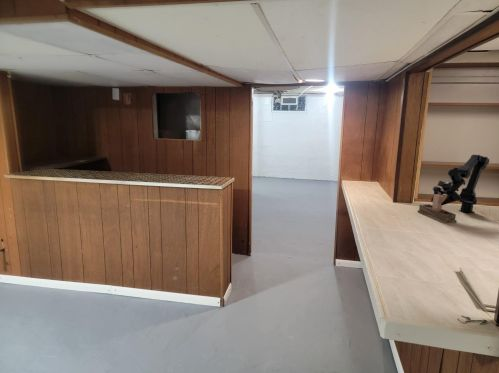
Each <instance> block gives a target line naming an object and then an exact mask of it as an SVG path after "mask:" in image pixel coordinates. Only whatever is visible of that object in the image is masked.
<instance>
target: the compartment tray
mask: <svg viewBox="0 0 499 373" xmlns="http://www.w3.org/2000/svg"><path fill="white" fill-rule="evenodd" d="M432 205H433V204H430V203H428V204H427V203H426V204H424V203H423V204H419V208H418V210H417V213H419V214H421V215H424V216H426V217H428V218H430V219H432V220H434V221H437V222H439V223H442V224H447V223H450V224H451V223H457V219H456V213H453V212H451V211H448V210H445V209H443V208H442V210H441V211H436V210H433V209H432Z"/></svg>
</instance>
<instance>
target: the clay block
mask: <svg viewBox="0 0 499 373" xmlns="http://www.w3.org/2000/svg"><path fill="white" fill-rule="evenodd" d="M433 195H434V196H432V197H433V202H432V204H431V205H432V209H433V210H436V211H441V210H442V209H443V205H441V203H442V202H443V201H444V195H439V194H434V193H433Z"/></svg>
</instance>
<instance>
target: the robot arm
mask: <svg viewBox="0 0 499 373" xmlns="http://www.w3.org/2000/svg"><path fill="white" fill-rule="evenodd" d="M489 163H490V158H488V156H483V155H480V154H471V155H470V157H469V159H468V160H466V162H465V163H464V164H463V165H460V166H459V167H454V168H452V169H450V170H449V171H448V172H447V174H448V176H449V178H450V181H446V182H445V181H443V180H439V181H438V183H437V185H435V186H433V187H432V190H433V196H434V194H439V195H442V196H444V195H445V196H446V197H445V199H443V201H442V203H441V205H442V206H445V205H447V204H451V203H454V202H459V203H461V206H460V209H459V210H458V211H459V212H462V213H465V214H472V213H474V214H475V210H474V209H473V208H474V205H477V203H478V199H477V197H476V196H477V194H476V191H475V190H476V187H477V185H478V182H479V180H480V176H481V174H482V172H483V170H484V169H486V168H487V166H488V165H489ZM468 178H469V179H468ZM465 179H468V182H467V183H466V180H465ZM466 184H467V185H466ZM465 185H466V187H463V188H462V189H461V191H460V190H459V189H460V188H461V187H462V186H465ZM459 191H460V193H458V192H459ZM433 196H432V197H431V200H430V202H432V203H433Z"/></svg>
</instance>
